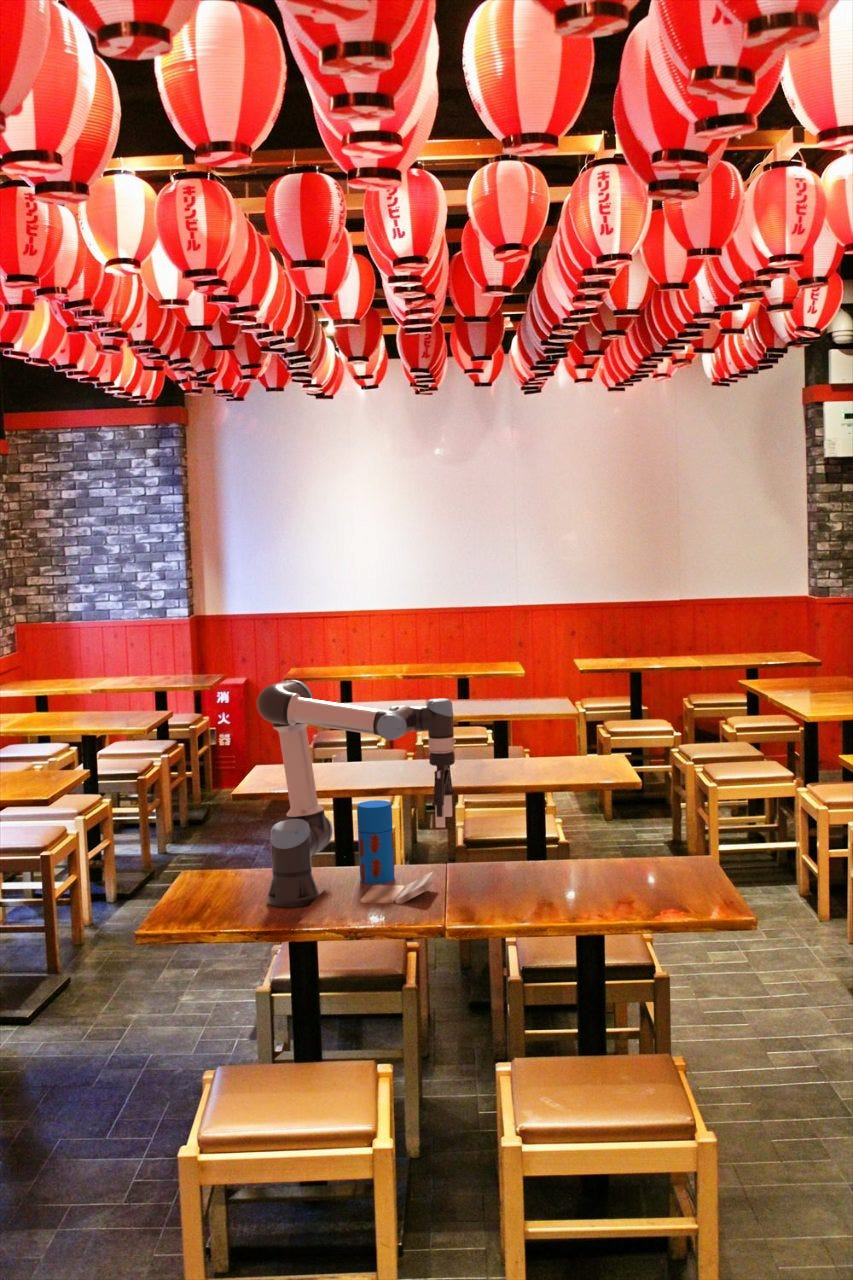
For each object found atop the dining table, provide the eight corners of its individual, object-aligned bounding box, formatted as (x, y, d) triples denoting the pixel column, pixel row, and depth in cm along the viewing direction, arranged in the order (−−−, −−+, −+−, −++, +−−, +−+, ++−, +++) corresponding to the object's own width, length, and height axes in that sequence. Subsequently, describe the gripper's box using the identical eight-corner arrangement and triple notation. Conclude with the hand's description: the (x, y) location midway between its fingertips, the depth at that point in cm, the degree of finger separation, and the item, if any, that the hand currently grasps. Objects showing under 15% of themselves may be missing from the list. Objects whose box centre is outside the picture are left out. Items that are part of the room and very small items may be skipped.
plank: (397, 905, 345) (394, 900, 345) (408, 890, 360) (405, 885, 360) (426, 890, 343) (423, 885, 343) (436, 876, 358) (433, 870, 358)
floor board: (360, 907, 347) (360, 900, 347) (373, 891, 363) (373, 884, 362) (431, 908, 343) (430, 901, 343) (441, 892, 358) (441, 885, 358)
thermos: (394, 887, 366) (390, 807, 364) (359, 888, 366) (355, 808, 364) (395, 877, 377) (392, 799, 375) (361, 878, 377) (358, 800, 375)
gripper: (447, 758, 340) (450, 831, 341) (460, 743, 364) (462, 812, 366) (421, 758, 341) (424, 831, 343) (436, 744, 365) (438, 812, 367)
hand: (444, 821), depth 354 cm, fingers open, 13 cm apart
